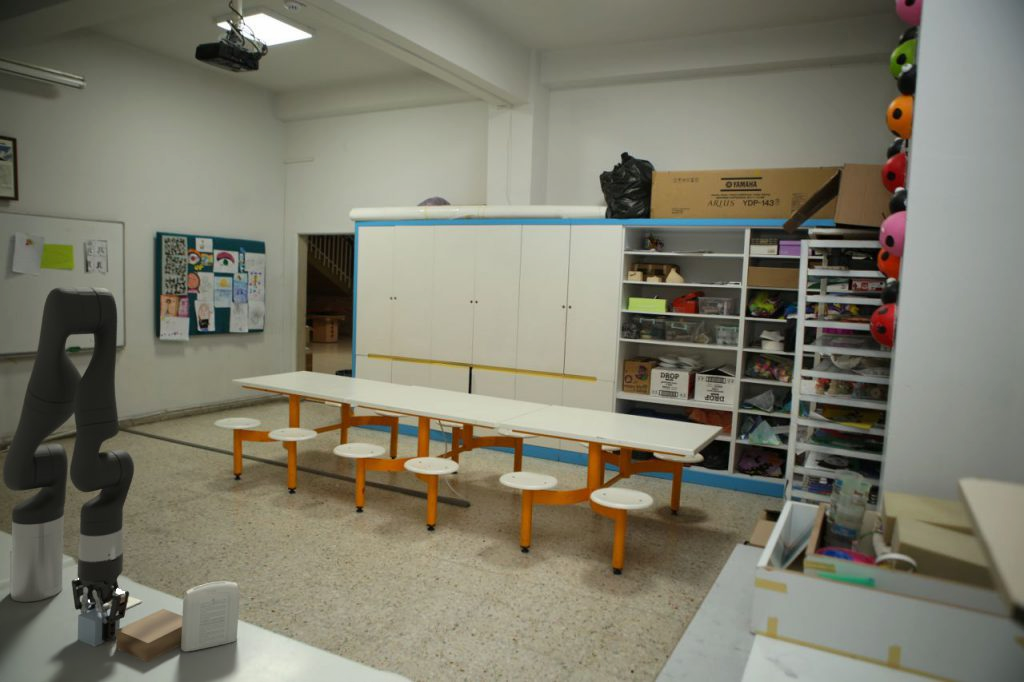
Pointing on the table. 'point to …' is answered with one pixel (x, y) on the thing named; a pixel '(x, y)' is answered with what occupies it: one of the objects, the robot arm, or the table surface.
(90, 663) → the table surface
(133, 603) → the page
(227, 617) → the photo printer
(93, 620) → the top brick
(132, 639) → the base brick
